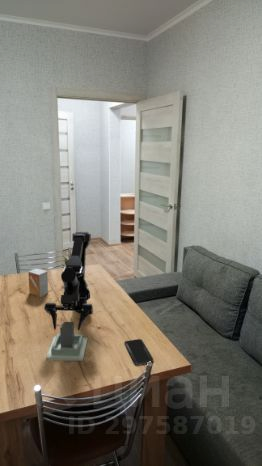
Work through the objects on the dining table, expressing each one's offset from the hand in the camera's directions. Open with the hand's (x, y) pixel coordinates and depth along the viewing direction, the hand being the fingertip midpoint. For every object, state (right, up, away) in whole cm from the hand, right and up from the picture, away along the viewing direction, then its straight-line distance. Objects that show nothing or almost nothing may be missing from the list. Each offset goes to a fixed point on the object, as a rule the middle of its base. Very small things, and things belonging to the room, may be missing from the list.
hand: (66, 330), depth 127 cm
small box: (-25, +4, +52) cm, 58 cm away
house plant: (-10, +9, +71) cm, 72 cm away
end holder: (0, -9, +4) cm, 10 cm away
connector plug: (0, -8, +3) cm, 9 cm away
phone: (+28, -10, +4) cm, 30 cm away
